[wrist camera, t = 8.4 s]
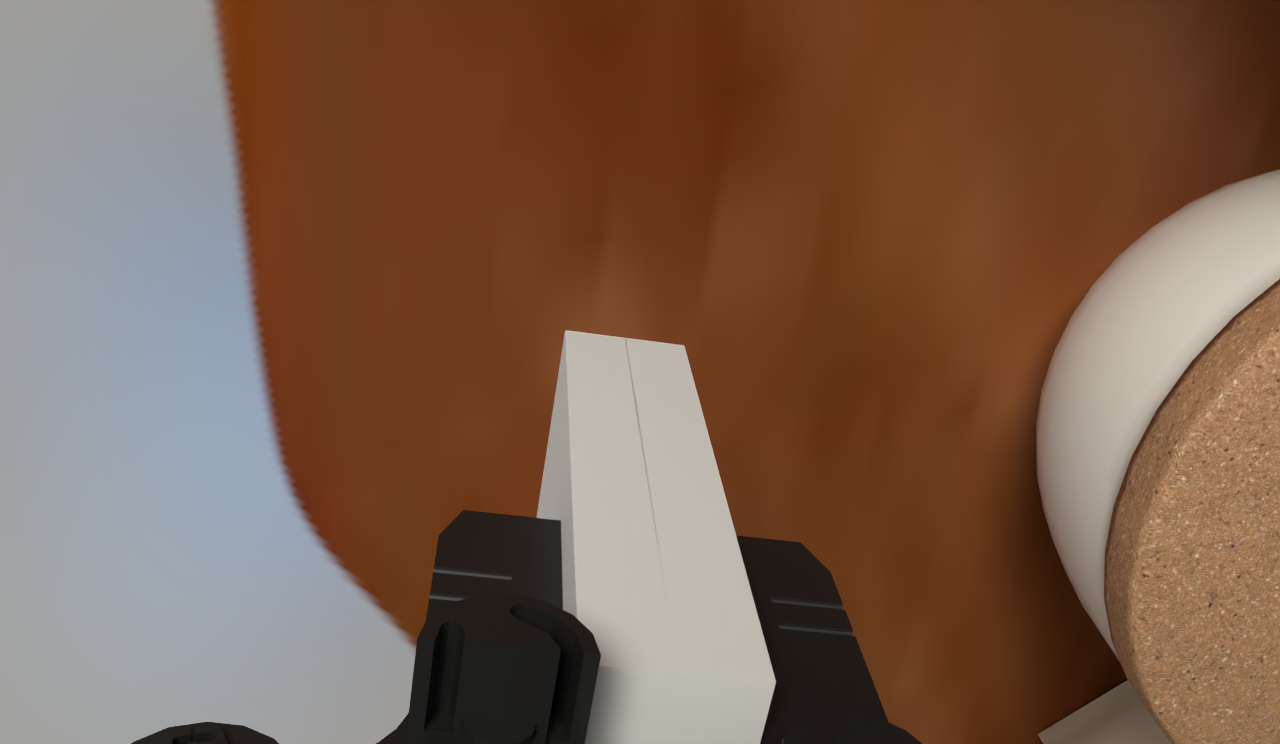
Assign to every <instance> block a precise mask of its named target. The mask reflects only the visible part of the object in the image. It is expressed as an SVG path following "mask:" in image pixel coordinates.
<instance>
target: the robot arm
mask: <svg viewBox="0 0 1280 744" xmlns="http://www.w3.org/2000/svg"><path fill="white" fill-rule="evenodd" d="M852 631H853V629H852V627H851V624H850V622H849V619H848V617H847V614H846V611H845V610H842V601H841V598H840V596H839V593H838V591H837V588H836V586H835V583H834V580H833V578H832V575H831V573H830V571H829V570H828V569H827V568H826V567H825V566H824V565H823V564H822V563H821V562H820V561H819V560H818V559H817V558H816V557H815V556H814V555H813V554H812V553H811V552H810V551H809V550H808V549H806V548H805V547H804V546H803V545H802V544H801V543H799V542H790V541H781V540H771V539H762V538H753V537H743V536H736V533H735V530H734V526H733V522H732V519H731V515H730V512H729V508H728V504H727V501H726V497H725V493H724V490H723V486H722V482H721V479H720V475H719V471H718V468H717V464H716V460H715V457H714V453H713V449H712V446H711V442H710V438H709V435H708V431H707V427H706V424H705V420H704V416H703V413H702V409H701V405H700V402H699V398H698V394H697V391H696V387H695V383H694V380H693V376H692V372H691V369H690V365H689V361H688V358H687V354H686V350H685V347H684V345H677V344H669V343H661V342H653V341H645V340H637V339H630V338H622V337H614V336H606V335H598V334H590V333H583V332H575V331H567V330H565V335H564V342H563V348H562V355H561V361H560V368H559V374H558V381H557V388H556V394H555V401H554V407H553V414H552V420H551V427H550V433H549V440H548V446H547V453H546V460H545V466H544V473H543V479H542V486H541V492H540V499H539V505H538V512H537V518H532V517H523V516H514V515H504V514H495V513H486V512H476V511H467V510H463V511H462V512H461V513H460V514H459V515H458V516H457V517H456V518H455V519H454V520H453V521H452V522H451V524H450V525H449V526H448V527H447V528H446V529H445V530H444V531H443V532H442V533H441V534H440V535H439V538H438V545H437V552H436V558H435V565H434V572H433V578H432V584H431V591H430V599H429V604H428V611H427V617H426V622H425V624H424V626H423V628H422V630H421V632H420V634H419V636H418V638H417V647H416V656H415V665H414V674H413V682H412V691H411V700H410V709H409V713H408V715H407V716H406V717H405V719H404V720H403V721H402V722H401V724H400V725H399V726H398V728H397V729H396V730H394V731H393V732H392V733H390V734H389V735H388V736H386V737H385V738H384V739H382V740H381V741H380V742H378V743H376V744H922V743H921V742H919V741H918V740H917V739H916V738H914V737H913V736H912V735H911V734H909V733H908V732H907V731H905V730H903V729H901V728H899V727H897V726H895V725H893V724H890V723H889V722H888V720H887V717H886V715H885V712H884V709H883V707H882V704H881V702H880V699H879V696H878V694H877V691H876V689H875V686H874V684H873V681H872V678H871V676H870V673H869V671H868V668H867V666H866V663H865V660H864V658H863V655H862V653H861V650H860V647H859V645H858V642H857V640H856V637H855V636H852ZM132 744H279V743H277V741H276V740H275V739H273V738H271V737H269V736H266V735H264V734H262V733H259V732H257V731H255V730H252V729H250V728H248V727H245V726H241V725H231V724H222V723H213V722H203V723H196V724H190V725H182V726H175V727H169V728H166V729H164V730H161V731H159V732H157V733H154V734H152V735H149V736H147V737H145V738H142V739H140V740H137V741H135V742H133V743H132Z"/></svg>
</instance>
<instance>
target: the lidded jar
mask: <svg viewBox="0 0 1280 744" xmlns="http://www.w3.org/2000/svg"><path fill="white" fill-rule="evenodd" d="M1036 434H1037V479H1038V484H1039V489H1040V495H1041V500H1042V505H1043V510H1044V514H1045V517H1046V520H1047V523H1048V527H1049V530H1050V533H1051V536H1052V539H1053V542H1054V544H1055V547H1056V549H1057V552H1058V554H1059V557H1060V559H1061V562H1062V564H1063V567H1064V569H1065V572H1066V574H1067V576H1068V578H1069V580H1070V582H1071V584H1072V586H1073V588H1074V590H1075V592H1076V594H1077V596H1078V598H1079V600H1080V602H1081V604H1082V606H1083V607H1084V609H1085V610H1086V612H1087V613H1088V615H1089V616H1090V618H1091V619H1092V621H1093V622H1094V624H1095V625H1096V627H1097V628H1098V630H1099V631H1100V633H1101V634H1102V636H1103V637H1104V639H1105V640H1106V642H1107V643H1108V645H1109V646H1110V648H1111V649H1112V651H1113V652H1114V654H1115V655H1116V657H1117V658H1118V660H1119V661H1120V663H1121V665H1122V668H1123V671H1124V673H1125V676H1126V678H1127V680H1128V681H1129V683H1130V685H1131V686H1132V688H1133V689H1134V691H1135V692H1136V694H1137V695H1138V697H1139V698H1140V700H1141V701H1142V703H1143V704H1144V706H1145V707H1146V709H1147V710H1148V712H1149V713H1150V715H1151V716H1152V718H1153V719H1154V721H1155V722H1156V723H1157V725H1158V726H1159V728H1160V729H1161V730H1162V732H1163V733H1164V734H1165V736H1166V737H1167V738H1168V739H1169V741H1170V742H1171V743H1172V744H1280V169H1278V170H1274V171H1270V172H1266V173H1263V174H1260V175H1257V176H1254V177H1251V178H1247V179H1244V180H1241V181H1238V182H1235V183H1232V184H1229V185H1226V186H1224V187H1222V188H1220V189H1218V190H1216V191H1213V192H1211V193H1209V194H1207V195H1205V196H1203V197H1201V198H1199V199H1197V200H1195V201H1193V202H1191V203H1189V204H1187V205H1185V206H1184V207H1182V208H1181V209H1179V210H1178V211H1176V212H1175V213H1173V214H1172V215H1170V216H1169V217H1167V218H1166V219H1164V220H1163V221H1161V222H1160V223H1158V224H1157V225H1155V226H1153V227H1152V228H1151V229H1149V230H1148V231H1147V232H1145V233H1144V234H1143V235H1142V236H1141V237H1140V238H1138V239H1137V240H1136V241H1135V242H1134V243H1133V244H1131V245H1130V246H1129V247H1128V248H1127V249H1126V250H1124V251H1123V252H1122V253H1121V254H1120V255H1119V256H1118V257H1117V258H1116V259H1115V260H1114V261H1113V262H1112V263H1111V264H1110V266H1109V267H1108V268H1107V269H1106V270H1105V271H1104V272H1103V273H1102V274H1101V276H1100V277H1099V278H1098V279H1097V280H1096V281H1095V282H1094V283H1093V285H1092V286H1091V288H1090V289H1089V291H1088V292H1087V293H1086V295H1085V296H1084V298H1083V299H1082V301H1081V302H1080V304H1079V305H1078V307H1077V308H1076V310H1075V311H1074V313H1073V314H1072V316H1071V318H1070V320H1069V322H1068V324H1067V326H1066V328H1065V330H1064V332H1063V334H1062V336H1061V338H1060V340H1059V342H1058V344H1057V346H1056V349H1055V351H1054V353H1053V356H1052V359H1051V362H1050V365H1049V368H1048V371H1047V374H1046V378H1045V381H1044V384H1043V387H1042V391H1041V397H1040V404H1039V410H1038V416H1037V423H1036Z"/></svg>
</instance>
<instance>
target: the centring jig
mask: <svg viewBox="0 0 1280 744" xmlns="http://www.w3.org/2000/svg"><path fill="white" fill-rule="evenodd" d="M1038 736H1039V737H1040V739H1041V741H1042V742H1043V744H1172V743H1171V742H1170V741H1169V739H1168V738H1167V737H1166V736H1165V734H1164V733H1163V732H1162V730H1161V729H1160V728H1159V726H1158V725H1157V723H1156V722H1155V721H1154V719H1153V718H1152V716H1151V715H1150V713H1149V712H1148V710H1147V709H1146V707H1145V706H1144V704H1143V703H1142V701H1141V700H1140V698H1139V697H1138V695H1137V694H1136V692H1135V691H1134V689H1133V688H1132V686H1131V685H1130V683H1129V681H1128V680H1127V681H1125V682H1123V683H1122V684H1120V685H1118V686H1117V687H1115V688H1113V689H1112V690H1110V691H1108V692H1107V693H1105V694H1104V695H1102V696H1100V697H1099V698H1097V699H1095V700H1094V701H1092V702H1090V703H1089V704H1087V705H1085V706H1084V707H1082V708H1080V709H1079V710H1077V711H1075V712H1074V713H1072V714H1070V715H1069V716H1067V717H1065V718H1064V719H1062V720H1060V721H1059V722H1057V723H1055V724H1054V725H1052V726H1050V727H1049V728H1047V729H1045V730H1044V731H1042V732H1040V733H1039V734H1038Z"/></svg>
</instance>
